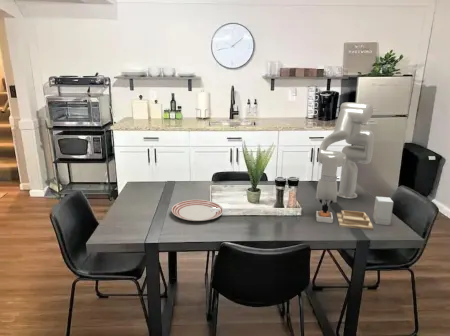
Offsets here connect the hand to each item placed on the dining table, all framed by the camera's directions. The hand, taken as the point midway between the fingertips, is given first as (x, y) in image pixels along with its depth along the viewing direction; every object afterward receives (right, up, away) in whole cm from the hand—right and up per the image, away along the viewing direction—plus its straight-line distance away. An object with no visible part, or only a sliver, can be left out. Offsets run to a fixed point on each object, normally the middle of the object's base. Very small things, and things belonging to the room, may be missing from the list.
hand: (324, 211), depth 189 cm
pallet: (+15, -5, -1) cm, 16 cm away
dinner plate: (-67, -2, +4) cm, 67 cm away
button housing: (0, -4, +1) cm, 4 cm away
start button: (0, -2, +1) cm, 2 cm away
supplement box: (+29, -5, 0) cm, 30 cm away
